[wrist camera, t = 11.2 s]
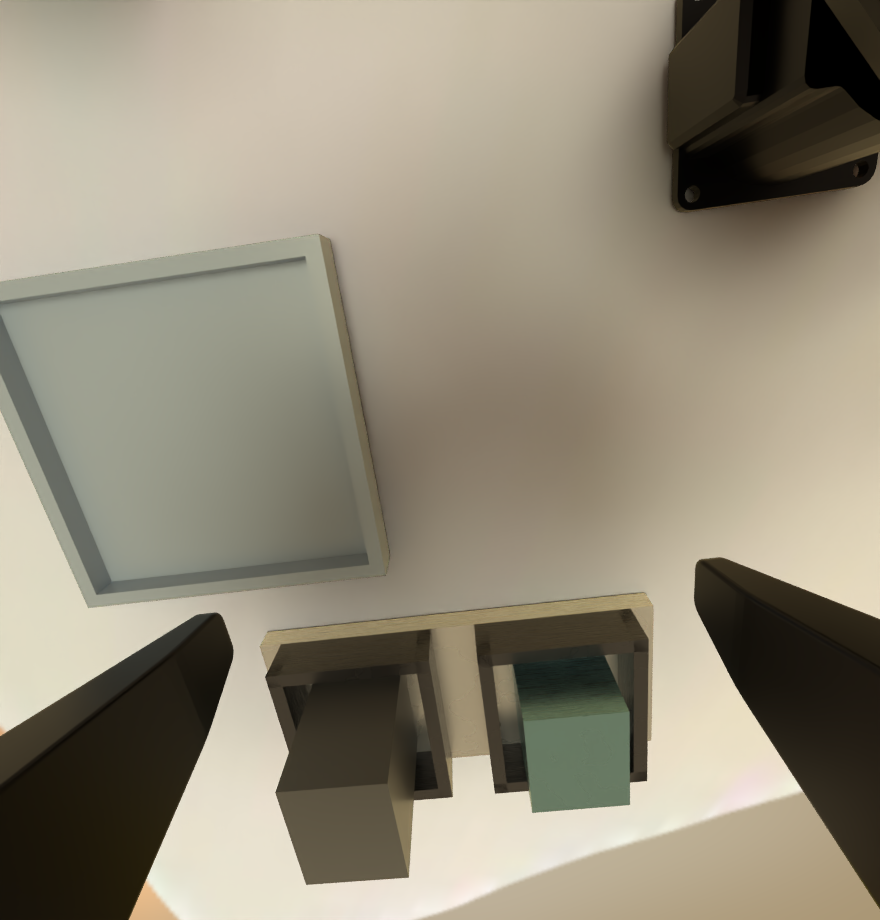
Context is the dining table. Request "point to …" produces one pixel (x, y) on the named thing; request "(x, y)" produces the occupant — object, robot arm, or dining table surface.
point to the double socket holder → (500, 692)
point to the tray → (194, 422)
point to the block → (352, 781)
